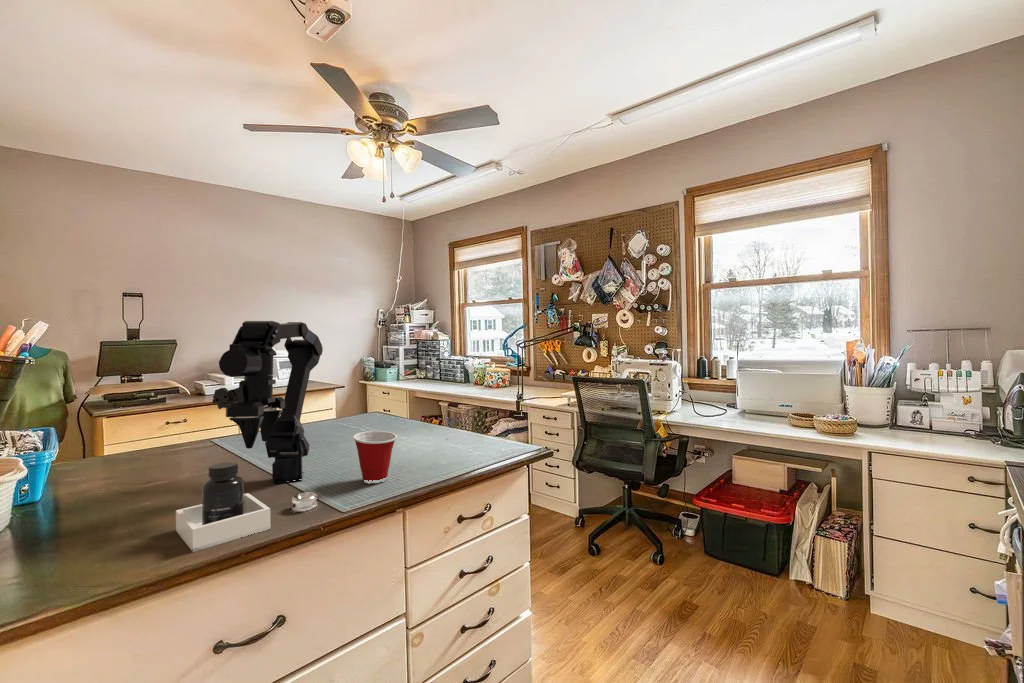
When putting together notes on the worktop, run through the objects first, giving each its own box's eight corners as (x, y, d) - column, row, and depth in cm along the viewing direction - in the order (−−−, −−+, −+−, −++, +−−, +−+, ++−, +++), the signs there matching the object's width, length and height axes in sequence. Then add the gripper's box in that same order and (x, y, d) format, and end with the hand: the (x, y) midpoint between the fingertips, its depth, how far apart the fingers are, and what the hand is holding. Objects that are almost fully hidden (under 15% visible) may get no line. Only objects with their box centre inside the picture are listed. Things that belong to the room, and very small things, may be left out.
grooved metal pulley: (320, 504, 100) (297, 504, 100) (320, 490, 100) (297, 491, 100) (312, 512, 95) (288, 513, 95) (312, 499, 95) (287, 499, 95)
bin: (248, 511, 96) (248, 493, 96) (270, 528, 87) (270, 508, 87) (176, 530, 87) (175, 510, 86) (193, 552, 78) (192, 529, 78)
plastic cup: (381, 490, 109) (380, 441, 108) (344, 485, 112) (343, 437, 112) (405, 476, 119) (405, 431, 119) (371, 472, 123) (371, 428, 122)
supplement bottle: (213, 537, 82) (212, 472, 82) (195, 529, 86) (193, 467, 86) (251, 523, 88) (250, 463, 88) (232, 516, 92) (231, 458, 92)
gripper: (237, 374, 110) (236, 439, 109) (198, 377, 92) (196, 454, 91) (286, 374, 112) (285, 437, 111) (257, 376, 94) (256, 452, 93)
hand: (257, 444), depth 102 cm, fingers open, 9 cm apart
